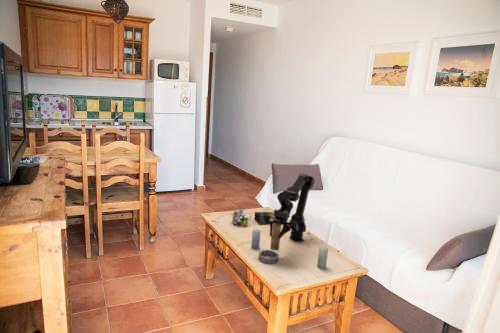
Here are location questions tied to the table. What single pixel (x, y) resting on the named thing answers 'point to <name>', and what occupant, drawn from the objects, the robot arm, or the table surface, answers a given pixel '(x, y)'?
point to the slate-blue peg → (255, 239)
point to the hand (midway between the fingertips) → (274, 237)
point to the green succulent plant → (240, 217)
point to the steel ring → (268, 260)
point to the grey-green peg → (322, 257)
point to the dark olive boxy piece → (260, 215)
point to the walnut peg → (275, 236)
